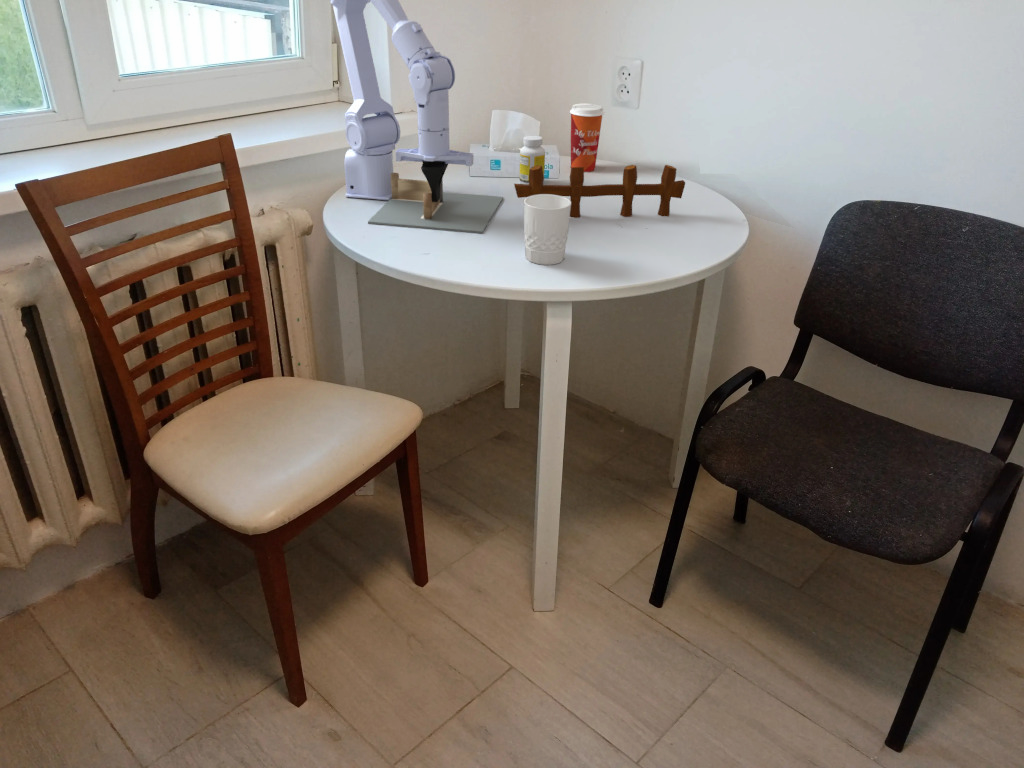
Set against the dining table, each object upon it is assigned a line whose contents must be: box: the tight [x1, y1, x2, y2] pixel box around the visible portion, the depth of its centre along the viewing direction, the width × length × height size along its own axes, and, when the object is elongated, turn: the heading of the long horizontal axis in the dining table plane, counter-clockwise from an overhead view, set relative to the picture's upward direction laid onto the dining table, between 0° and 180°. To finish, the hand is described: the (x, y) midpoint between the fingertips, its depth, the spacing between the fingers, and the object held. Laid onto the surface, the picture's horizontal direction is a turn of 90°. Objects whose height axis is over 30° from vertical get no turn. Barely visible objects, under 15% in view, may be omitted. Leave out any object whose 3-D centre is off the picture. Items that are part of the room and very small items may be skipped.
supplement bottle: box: [519, 135, 546, 185], centre depth 171 cm, size 5×5×10 cm
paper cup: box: [569, 102, 605, 173], centre depth 181 cm, size 8×8×14 cm
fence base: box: [391, 172, 444, 203], centre depth 159 cm, size 11×2×5 cm, turn 80°
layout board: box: [367, 191, 504, 235], centre depth 156 cm, size 22×21×1 cm
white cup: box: [523, 194, 571, 266], centre depth 134 cm, size 8×8×10 cm
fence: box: [513, 164, 686, 219], centre depth 154 cm, size 34×3×10 cm, turn 97°
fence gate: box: [423, 189, 440, 219], centre depth 153 cm, size 10×2×5 cm, turn 173°
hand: (435, 200), depth 152 cm, fingers closed, pressing on fence gate
